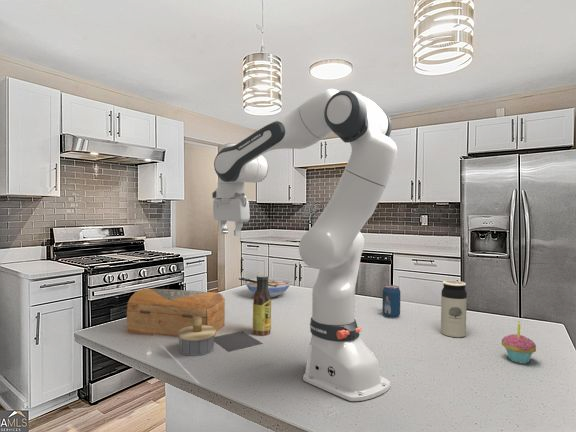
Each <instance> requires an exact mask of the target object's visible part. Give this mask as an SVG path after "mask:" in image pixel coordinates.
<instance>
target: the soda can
mask: <svg viewBox="0 0 576 432" xmlns="http://www.w3.org/2000/svg"><path fill="white" fill-rule="evenodd" d="M381 302H382V310H381V312H382V316H384V317H385V318H386V319H387V318H389V319H397V318H399V317H400V315H401V289H400V286H398V285H394V284H385V285H384V286H383V289H382V301H381Z"/></svg>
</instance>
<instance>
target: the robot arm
mask: <svg viewBox="0 0 576 432" xmlns="http://www.w3.org/2000/svg"><path fill="white" fill-rule="evenodd" d="M392 127H393V126H392V121H391V118H390V116H389V115H388V113H387V112H386V111H385V110H384V109H382V108H380V107H379V106H378V105H377V104H376V103H375V102H374V101H373V100H372V99H369V98H367V97H365V96H364V95H361V94H360V93H359V92H356V91H354V90H347V89H345V90H341V91H339V90H337V89H335V88H328V89H325V90H323V91H321V92H319V93H317V94H315V95H313V96H312V97H310V98H308V99H307V100H306V101H304V102H302V104H300V105H299V106H298V107H297V108H295V109H294V110H292V111H291V112H288V114H286V115H285V116H283V117H281V118H279V119H277V120H275V121H272V122H271V123H269V124H267V125H265V126H262V127H261V128H260V129H258V130H256V131H255V132H253V133H252V134H250V135H248V136H247V137H246V138H244V139H243V140H241V141H240V142H238V143H237V142H236V143H235V142H233V143H226V144H223V145H222V146H220V148H219V151H218V152H217V154H216V156H215V158H214V162H213V166H214V171H215V174H216V175H217V177H218V181H217V187H216V188H215V189H214V191H213V192H212V193H211V199H213V201H212V209H213V210H212V212H213V213H212V214H213V218H214V220H215V221H219V227H220V230H221V234H222V235H227V234H228V233H229V232H228V231H229V228H227V224H228V223H227V222H234V225H235V227H234V230H233V236H236V237H238V236H239V237H240V236H241V235H242V234H241V231H242V228H243V225H244V223H246V222H249V221H250V219H251V218H250V217H251V213H250V202H249V199H248V198H247V196H246V194H245V183H253V184H255V183H260V182H262V181H264V180H265V178H267V175H268V172H269V163H268V160H267V158H266V157H265V156H264V155H265V153H268V152H270V151H274V150H281V149H282V150H283V149H284V150H285V149H286V150H287V149H289V150H290V149H292V150H293V149H294V150H296V149H297V150H300V149H301V150H303V149H306V148H308V147H311V146H313V145H315V144H317V143H318V142H320V141H322V140H323V139H324V138H326V137H327V136H328V135H330V134H331V133H334V134H335V135H336V137H338V138H339V139H340V140H341V141H342V142H344V143H347V144H350V148H351V152H350V153H351V154H350V156H349V159H348V161H347V163H346V165H345V167H344V170H343V172H342V174H341V177H340V179H339V181H338V184H337V186H336V188H335V190H334V192H333V194H332V196H331V198H330V199H329V201H328V203H327V205H326V206H325V207H324V209H323V210H322V211H321V213H320V215H319V216H318V217H317V219H316V221H315V222H314V223H313V225H312V226H311V228H309V230H307V231H306V232H305V233H304V235H303V236H301V239H300V240H299V244H298V251H299V252H298V253H299V256H300V259H301V261H303V263H304V264H305V265H306V266H308V267H310V268H312V269H313V270H319V272H318V275H317V278H316V280H315V283H314V284H313V288H312V299H311V300H312V303H311V305H312V306H311V307H312V308H311V310H312V311H311V312H312V313H311V315H312V316H311V317H310V322H309V328H310V329H309V330H310V333H311V337H310V341H309V345H308V349H307V356H306V357H307V358H306V366H305V369H304V370H305V371H304V372H305V373H304V374H303V378H302V380H303V381H304V382H306V383H308V384H310V385H312V386H315V387H316V388H319V389H321V390H324V391H326V392H328V393H330V394H333V395H335V396H337V397H340V398H342V399H344V400H346V401H349V402H360V401H366V400H369V399H370V400H371V399H373V398H376V397H379V396H381V395H383V394H385V393H386V392H387V391H388V390H389V389H390V388H391V382H390V380H388V379H387V378H385V377H383V376H382V375H381V368H380V362H379V360H378V358H377V357H376V356H375V354H374V352H373V351H371V349H370V348H369V347H368V346H367V344H366V343H365V342H364V341H363V339H362V338H361V337H360V335H361V334H360V332H363V326H359V327H358V324H357V323H358V322H357V320H356V318H355V308H356V305H355V302H356V297H355V296H356V285H357V281H358V276H359V269H360V266H361V265H360V264H361V259H362V258H361V257H362V254H363V251H364V250H365V245H366V243H365V238H364V237H365V236H363V234H362V232H361V230H362V229H363V228H364V226H365V224H366V223H367V221H368V220H369V219H371V218H372V215H373V214H374V212H375V210H376V209H377V206H378V204H379V202H380V199H381V197H382V195H383V193H384V191H385V189H386V186H387V185H388V182H389V181H390V177H391V176H392V175H391V174H392V172H393V170H394V166H395V164H396V160H397V156H398V147H397V146H398V145H397V144H396V142H395V141H394V140H393V139H392V138H390V136H391V132H392ZM361 329H362V330H361Z"/></svg>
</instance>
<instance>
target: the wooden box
mask: <svg viewBox="0 0 576 432" xmlns="http://www.w3.org/2000/svg"><path fill="white" fill-rule="evenodd" d="M225 301H226V299H225V297H224V296H223V294H221V293H220V292H212V291H211V292H210V291H201V290H198V291H197V290H185V289H184V290H183V289H166V288H165V289H163V288H141V289H139V290H137V291H135V292H134V293H133V294H132V295H131V296H130V298H129V300H128V301H127V304H126V332H127V334H133V335H134V334H137V335H144V336H145V335H146V336H154V335H156V336H157V335H158V336H165V337H166V336H167V337H168V336H169V337H178V332H179V330H180V329H182V328H185V327H188V326H193V317H196V316H200V317H202V325H208V326H212V327H214V328H215V329H216V333H217V332H218V331H220V330H221V329H222V328H223V327H225V325H226V324H225V316H226V315H225V306H226V305H225V304H226V302H225ZM178 338H179V337H178Z"/></svg>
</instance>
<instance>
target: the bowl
mask: <svg viewBox="0 0 576 432" xmlns="http://www.w3.org/2000/svg"><path fill="white" fill-rule="evenodd" d="M214 337H215V336H213V337H211V338H208V339H205V340H198V341H189V340H183V339H181V338H179V337H178V341H179V346H178V347H179V349H178V350H179V353H180V354H181V355H183V356H187V357H199V356H204V355H208V354H210V353H212V352H213V351H214V350H215V342H214Z"/></svg>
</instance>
